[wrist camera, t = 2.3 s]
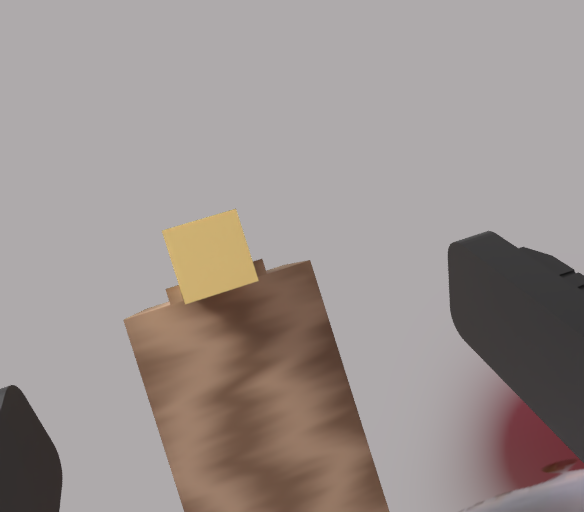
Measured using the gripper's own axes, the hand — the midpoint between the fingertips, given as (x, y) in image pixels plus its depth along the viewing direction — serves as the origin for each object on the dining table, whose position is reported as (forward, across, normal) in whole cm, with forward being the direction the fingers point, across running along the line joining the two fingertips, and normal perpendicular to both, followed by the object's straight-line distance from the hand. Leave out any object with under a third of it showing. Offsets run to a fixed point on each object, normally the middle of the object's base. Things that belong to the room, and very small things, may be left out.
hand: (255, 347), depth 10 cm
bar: (+22, 0, +12) cm, 26 cm away
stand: (+10, 0, +42) cm, 43 cm away
